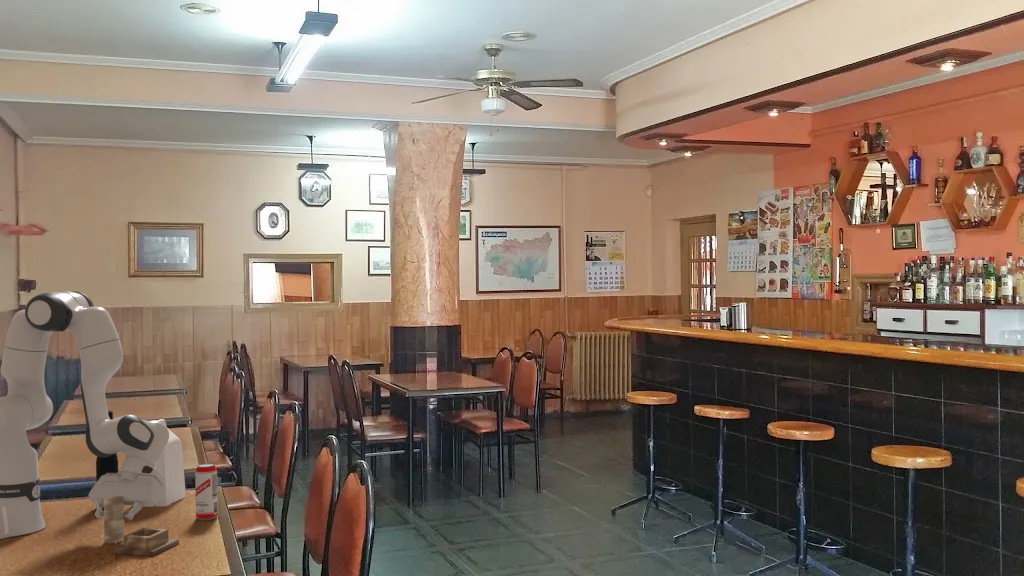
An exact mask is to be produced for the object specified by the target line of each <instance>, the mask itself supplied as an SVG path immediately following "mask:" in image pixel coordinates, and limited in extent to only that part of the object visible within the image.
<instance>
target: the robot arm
mask: <svg viewBox="0 0 1024 576" xmlns="http://www.w3.org/2000/svg"><path fill="white" fill-rule="evenodd" d="M65 331H67V332H69V333H71V334H72V335H73V337H74V339H75V342H76V346H77V349H78V353H79V358H80V365H81V372H80V375H79V386H80V393H81V400H82V405H83V413H84V416H85V417H84V418H85V426H86V427H85V429H86V430H85V443H86V447H87V448H88V450H89V451H90V453H92V454H93V455H94V456H95V457H97V456H98V457H108V456H111V455H113V454H116V453H117V454H118V453H122V452H123V453H124V454H125V458H124V460H123V462H122V463H121V465H120V468H118V473H107V474H105V475H103V476H101V477H100V479H99V480H98V481H97V482H95V484H94V485H93V486H92V488H91V489H90V491H89V493H88V498H89V500H90V501H91V503H93V504H95V505H96V511H95V512H94V516H95V517H96V518H97V519H98V518H99V519H101V518H104V510H102V507H104V499H105V498H108V497H111V496H121V497H123V506H130V507H132V508H131V509H129V510H126V512H125V513H124V519H126V520H133V518H134V516H135V515H136V514H138V513H139V512H140V511H141V510H142V508H143V507H148V508H150V507H151V508H153V507H155V506H154V505H156V504H157V502H158V500H159V498H160V496H161V494H162V491H163V487H162V486H164V485H165V483H166V480H165V478H164V477H163V475H162V474H161V473H160V472H159V471H158V470H157V469H156V464H157V462H158V461H159V460H160V459H161V457H162V455H163V453H164V451H165V449H166V446H167V444H168V440H169V431H168V429H169V428H168V427H166V426H167V425H166V426H165V425H163V424H162V423H160V422H158V421H157V420H154V419H153V420H145V419H142V418H140V416H137V415H134V414H126V415H122V416H118V417H115V418H113V419H112V420H111V419H110V418H109V415H108V411H109V410H108V405H107V397H106V387H107V385H108V382H109V381H110V379H111V378H113V376H114V375H115V374H116V373H118V371H119V369H120V368H121V366H122V365H123V363H124V350H123V349H124V348H123V345H122V342H121V340H120V336H119V332H118V331H117V328H116V325H115V323H114V321H113V318H112V316H111V314H110V313H109V311H108V310H107V309H106V308H104V307H101V306H95V304H94V303H93V300H92V299H91V298H90V297H89V295H86V294H85V293H83V292H81V291H72V290H71V291H67V290H57V291H54V292H43V293H41V294H37V295H35V296H33V297H32V298H31V299H30V300H29V301H28V302H27V304H26V306H25V309H21V310H19V311H17V312H15V313H14V314H13V316H12V318H11V322H10V324H9V327H8V331H7V333H6V338H5V341H4V347H3V353H2V359H1V364H0V374H1V376H2V377H3V378H4V379H5V380H6V383H7V394H6V396H1V397H0V540H2V539H6V538H10V537H16V536H22V535H27V534H32V533H35V532H36V533H37V532H39V531H41V530H43V529H45V528H46V523H45V519H44V517H43V513H42V508H41V502H40V501H41V500H40V498H41V479H40V477H39V462H38V460H39V455H38V451H37V449H35V448H34V447H32V445H31V444H30V442H29V440H28V435H27V431H29V430H33V429H36V428H38V427H40V426H41V425H43V424H45V423H46V422H47V421H49V420H50V419H51V417H52V414H53V413H54V405H53V401H52V399H51V398H50V397H49V396H48V394H47V391H46V385H45V372H46V371H45V370H46V362H47V357H48V350H49V345H50V344H49V343H50V338H51V336H52V334H53V332H57V333H58V332H61V333H62V332H65ZM167 428H168V429H167Z"/></svg>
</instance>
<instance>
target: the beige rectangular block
mask: <svg viewBox="0 0 1024 576" xmlns="http://www.w3.org/2000/svg"><path fill="white" fill-rule="evenodd" d="M124 510H125V509H124V505H123V497H121V496H111V497H108V498H105V499H104V510H103V511H104V515H103V527H104V528H103V530H104V531H103V533H104V535H103V536H104V539H103V540H104V544H111V543H115V544H114V545H116V544H118V542H119V543H120V541H121V542H123V541H124V536H125V525H124V524H125V513H124V512H125V511H124ZM122 540H123V541H122Z"/></svg>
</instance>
